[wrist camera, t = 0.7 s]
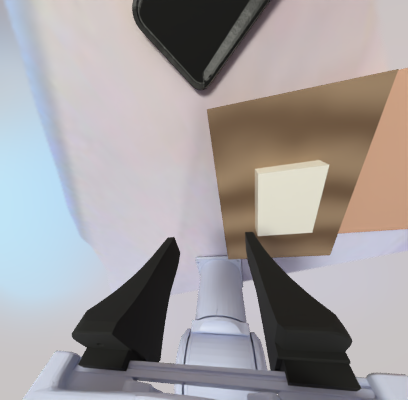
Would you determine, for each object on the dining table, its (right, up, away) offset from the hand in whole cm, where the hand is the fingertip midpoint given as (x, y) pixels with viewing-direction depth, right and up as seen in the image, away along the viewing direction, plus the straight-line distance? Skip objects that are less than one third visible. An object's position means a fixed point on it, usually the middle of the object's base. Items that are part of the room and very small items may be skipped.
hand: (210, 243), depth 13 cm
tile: (+8, +4, +4) cm, 10 cm away
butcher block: (+9, +5, +6) cm, 12 cm away
